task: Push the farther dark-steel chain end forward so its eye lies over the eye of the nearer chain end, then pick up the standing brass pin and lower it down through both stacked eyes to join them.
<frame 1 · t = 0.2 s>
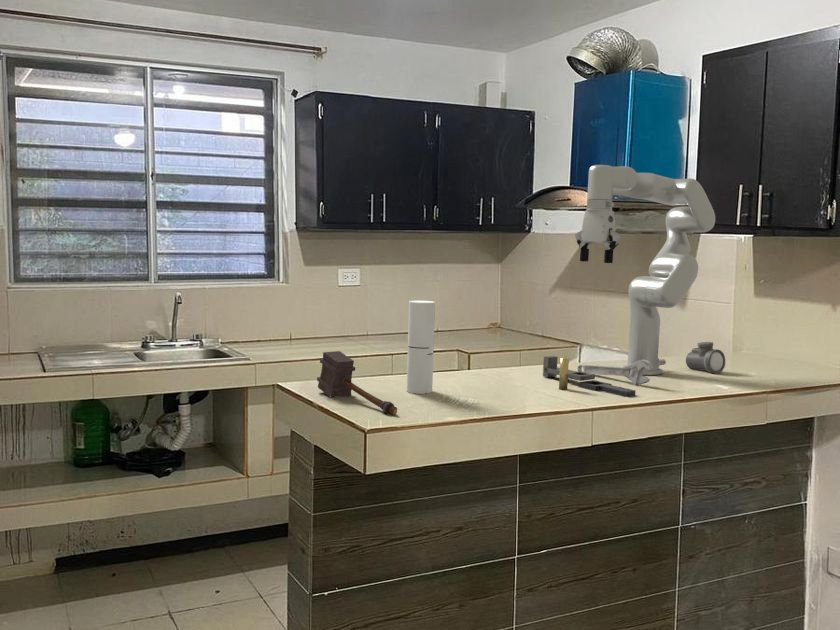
hand: (595, 262, 247), 36 cm above the worktop, fingers open, 9 cm apart
wrench: (613, 381, 249), on the worktop
pipe fitting: (703, 371, 271), on the worktop
chain end 2: (594, 387, 235), on the worktop
chain end 1: (567, 370, 244), point 3 cm above the worktop, slide at 0.0 cm
cylindrical container: (419, 391, 223), on the worktop
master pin: (563, 389, 232), on the worktop
hammer: (359, 404, 206), on the worktop
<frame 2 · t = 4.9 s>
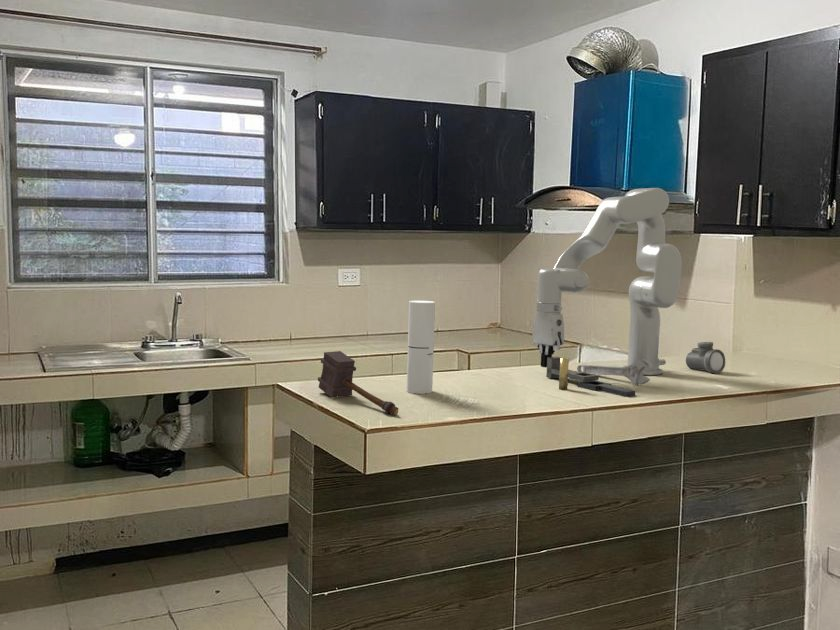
hand: (546, 366, 251), 3 cm above the worktop, fingers closed
chain end 1: (571, 371, 243), point 3 cm above the worktop, slide at 1.6 cm, touching gripper
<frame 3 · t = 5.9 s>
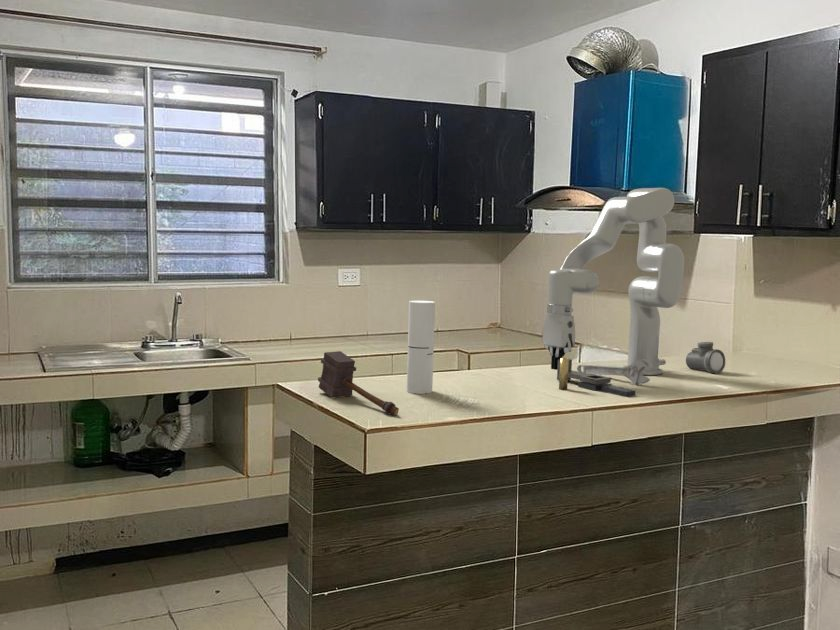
hand: (556, 368, 248), 3 cm above the worktop, fingers closed
chain end 1: (582, 373, 239), point 3 cm above the worktop, slide at 6.1 cm, touching gripper
everything else where it was.
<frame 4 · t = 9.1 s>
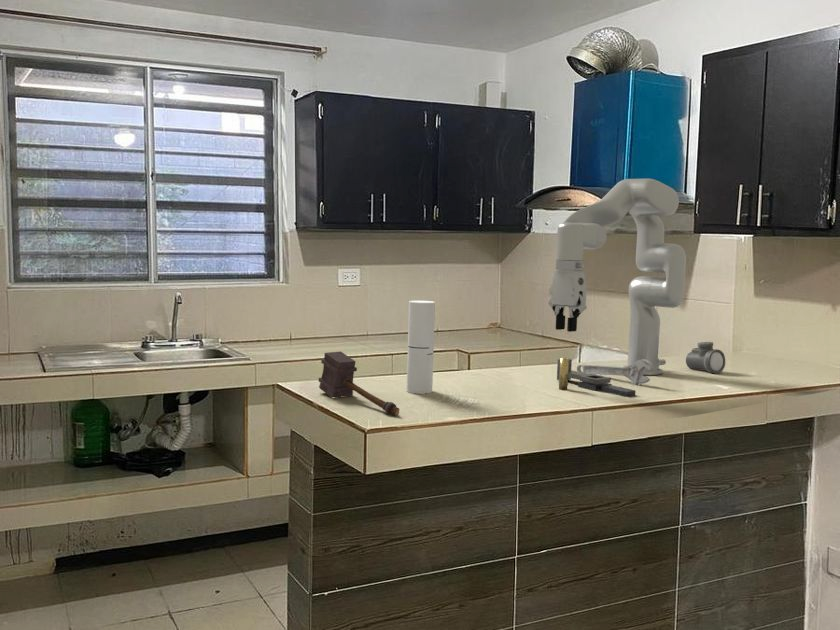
hand: (565, 329, 230), 17 cm above the worktop, fingers open, 3 cm apart
chain end 1: (582, 373, 239), point 3 cm above the worktop, slide at 6.0 cm
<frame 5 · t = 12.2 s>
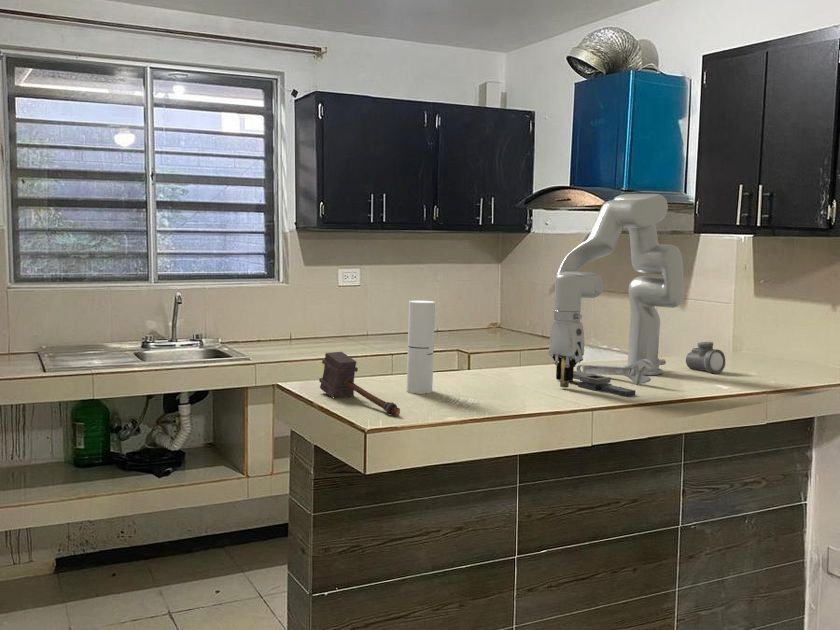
hand: (564, 379, 232), 3 cm above the worktop, fingers closed on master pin, 2 cm apart
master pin: (564, 386, 232), point 1 cm above the worktop, touching gripper
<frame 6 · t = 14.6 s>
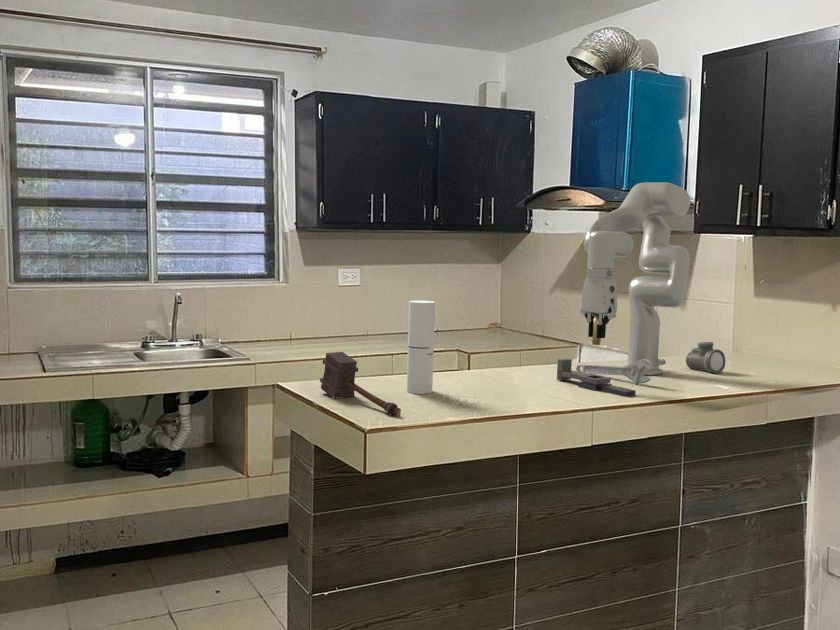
hand: (596, 336, 234), 15 cm above the worktop, fingers closed on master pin, 2 cm apart
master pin: (596, 344, 234), point 13 cm above the worktop, touching gripper
when the fingers open (4 cm above the worktop, at t = 17.2 s): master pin drops 2 cm, resting in chain end 2.
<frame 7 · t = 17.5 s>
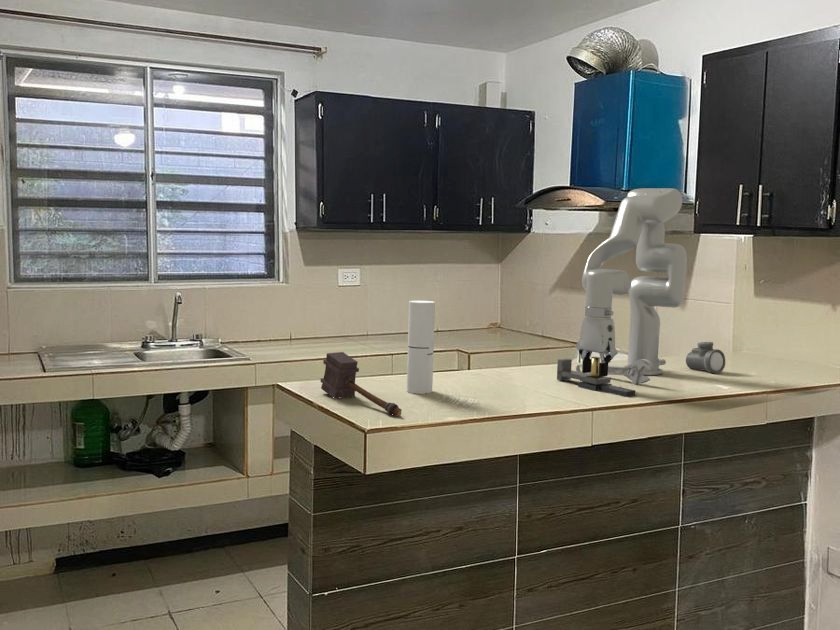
hand: (594, 373, 235), 4 cm above the worktop, fingers open, 5 cm apart
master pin: (594, 387, 235), resting in chain end 2
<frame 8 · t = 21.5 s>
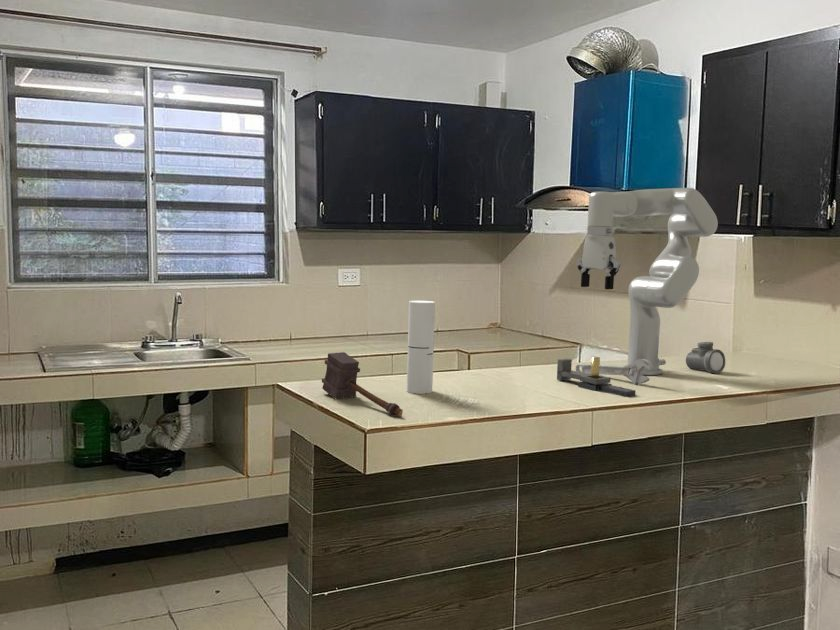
hand: (596, 288, 248), 28 cm above the worktop, fingers open, 9 cm apart
at the end: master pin 0.2 cm from the target spot, resting in chain end 2; chain end 1 slide at 6.0 cm; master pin tilted 0° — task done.
